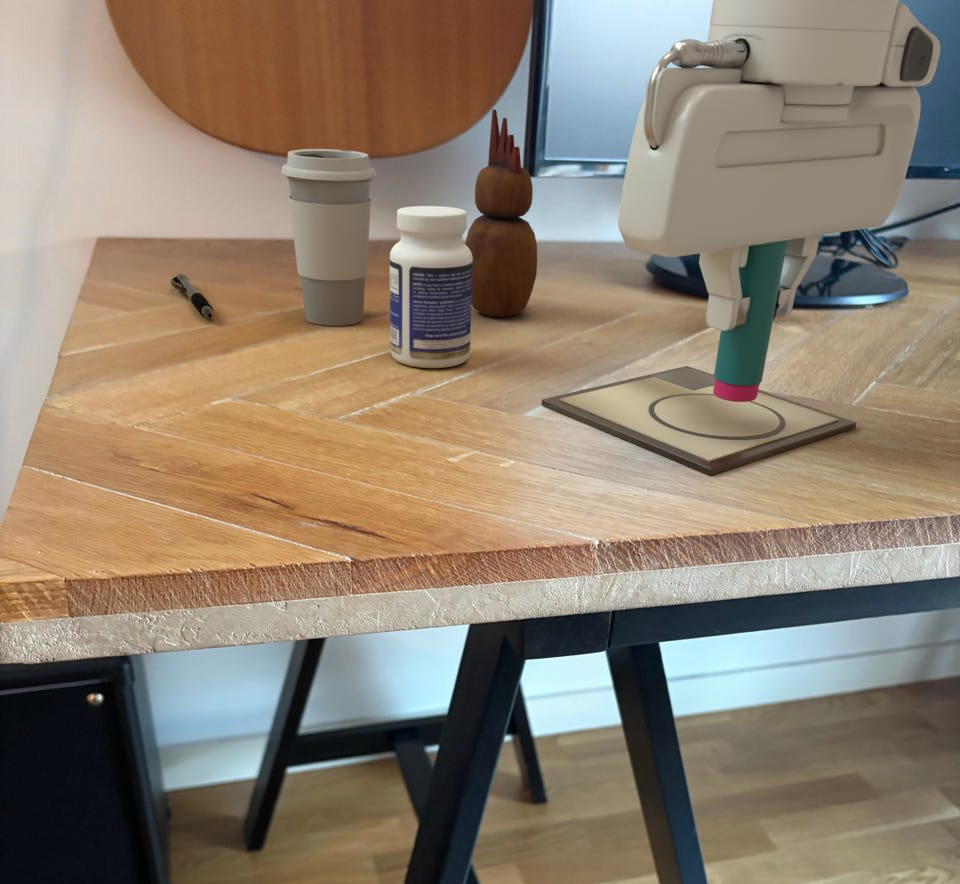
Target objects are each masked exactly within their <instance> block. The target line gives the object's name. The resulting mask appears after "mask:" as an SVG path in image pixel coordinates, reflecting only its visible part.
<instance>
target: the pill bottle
mask: <svg viewBox="0 0 960 884" xmlns="http://www.w3.org/2000/svg"><path fill="white" fill-rule="evenodd" d="M467 214H468V213H467V211H466V210H464V209H462V208H457V207H450V206H440V205H439V206H438V205H417V206H416V205H415V206H414V205H413V206H405V207H401V208H399V209H397V210H396V229H397V230H398V232H399V233H400V240H399V241H398V242H396V243H395V244H394V245H393V246H392V248H391V250H390V253H389V335H390V336H389V337H390V338H389V341H390V353H391V356H392V358H393V359H394V360H395V361H397V362H398V363H400V364H403V365H405V366H409V367H415V368H422V369H443V368H449V367H451V368H452V367H456V366H458V365H461V364H463V363H464V362H466V361H467V360H469V357H470V353H471V332H472V330H471V329H472V305H471V302H472V270H473V258H472V253H471V251H470V249H469V248H468V247H467V246H466V245H465V244H466V243H464V242H463V241H464V240H463V235H464V234H465V233H466V231H467V229H468V227H467V226H468V225H467V224H468V220H467V216H468V215H467Z"/></svg>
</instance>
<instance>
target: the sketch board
mask: <svg viewBox="0 0 960 884" xmlns="http://www.w3.org/2000/svg"><path fill="white" fill-rule="evenodd" d="M714 382H715V378H714V374H712V373H710V372H707V371H704V370H701V369H698V368H696V367H695V368H694V367H691V366H689V365H684V366H679V367H676V368H672V369H667V370H664V371H659V372H654V373H650V374H645V375H641V376H636V377H633V378H628V379H624V380H618V381H614V382H610V383H607V384H601V385H598V386H594V387H593V386H592V387H590V388H584V389H580V390H576V391H572V392H571V391H570V392H567V393H563V394H558V395H554V396H550V397H545V398H541V403H540V404H541V406H543V407H545V408H548V409H550V410H553V411H555V412H558V413H559V414H562V415H564V416H567V417H570V418H571V419H574V420H576V421H579V422H581V423H583V424H586V425H588V426H590V427H593V428H595V429H598V430H600V431H603V432H605V433H608V434H610V435H612V436H614V437H617V438H619V439H621V440H624V441H627V442H629V443H631V444H634V445H636V446H639V447H641V448H643V449H646V450H648V451H650V452H653V453H656V454H658V455H660V456H663V457H665V458H667V459H670V460H671V461H674V462H677V463H680V464H682V465H684V466H686V467H689V468H691V469H693V470H695V471H698V472H701V473H703V474H705V475H707V476H713V475H716V474H717V475H718V474H720V473H723V472H726V471H729V470H732V469H734V468H738V467H741V466H744V465H747V464H751V463H753V462H757V461H760V460H763V459H764V458H765V459H766V458H768V457H771V456H776V455H777V454H780V453H783V452H787V451H789V450H792V449H796V448H799V447H802V446H805V445H808V444H812V443H814V442H818V441H821V440H824V439H826V438H829V437H832V436H836V435H839V434H842V433H844V432H848V431H850V430H854V429H856V427H857V421H854V420H852V419H848V418H845V417H842V416H839V415H837V414H833V413H830V412H828V411H824V410H821V409H818V408H815V407H812V406H809V405H806V404H804V403H800V402H797V401H794V400H791V399H788V398H784V397H782V396H778V395H776V394H773V393H771V392H766V391H764V390H761V389H758V395H757V398H756V399H755V400H753V401H748V402H733V401H727V400H723V399H720V398H718V397H716V396H715V395H714V394H713V389H714Z"/></svg>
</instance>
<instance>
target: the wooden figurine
mask: <svg viewBox="0 0 960 884" xmlns="http://www.w3.org/2000/svg"><path fill="white" fill-rule="evenodd" d="M497 112H498V111H497V109H492V110H491V122H490V123H491V124H490V133H489V147H488V160H487V161H488V163H487V166H485V167H482V168H481V169H480V171H479V173H478V174H477V177H476V181H475V187H474V204H475V206H476V209H477V210H478V212H479V213H480V214H481V215H480V216H478V217H476V218H475V219H474V220H473V222H472V223H471V225H470V226H469V228H468V231H467V235H466V237H465V243H464V244H465V245H466V246H467V247H468V248H469V249H470V251H471V253H472V258H473V270H472V302H471V307H472V308H473V309H474V310H475V311H477V312H479V313H481V314H483V315H485V316H489V317H493V318H494V317H496V318H507V317H512V316H516V315H519V314H521V312H523V311H524V310H526V307H527V305H528V303H529V301H530V298H531V296H532V292H533V290H534V286H535V282H536V280H537V279H536V278H537V274H538V273H537V272H538V244H537V239H536V234H535V231H534V230H533V228H532V226H531V225H530V223H529V221H527V220H525V219H524V218H522V217H523V216H525V215H526V214H527V213H528V212H529V211H530V209H531V207H532V204H533V196H534V195H533V192H534V190H533V182H532V177H531V174H530V173H529V171H528V170H527V169H526V168H524V167H522V161H521V151H520V150H521V149H520V146H515V136H514V134H509V131H508V118H507V117H503V118H502V121H501V127H499V119H498V113H497Z"/></svg>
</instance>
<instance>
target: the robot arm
mask: <svg viewBox="0 0 960 884" xmlns="http://www.w3.org/2000/svg"><path fill="white" fill-rule="evenodd" d="M710 12H711V14H710V21H709V28H708V37H707V41H701V40H698V39H693V38H692V39H691V38H688V39H687V38H686V39H681V40H678V41H676V42H674V43H673V45H672V46H671V48H670V51H667V53H665V54H664V55H663V56H662V57H661V59H659V61H658V63H657V64H656V66H655V67H654V68H652V69H651V71H650V72H649V75H648V78H647V82H646V87H645V95H644V101H643V103H642V105H641V106H640V107H641V108H640V110H639V111H638V112H639V113H638V116H637V119H636V122H635V126H634V130H633V134H632V139H631V143H630V148H629V152H628V157H627V162H626V167H625V171H624V177H623V183H622V190H621V195H620V201H619V202H620V203H619V208H618V216H617V217H618V219H617V225H618V230H619V232H620V235H621V237H622V239H623V241H624V244H625V245H626V247H627V248H629V249H631V250H634V251H638V252H642V253H646V254H650V255H655V256H660V257H664V258H679V257H685V256H692V255H699V260H698V265H699V268H700V271H701V274H702V277H703V281H704V284H705V288H706V291H707V293H708V301H707V307H706V313H705V314H706V315H705V322H706V324H707V326H708V327H709V328H712V329H715V330H719V331H721V330H722V331H727V330H731V329H735V328H739V327H743V326H744V325H745V324H746V323H747V318H748V317H747V312H748V310H749V306H750V300H751V297H750V296H746V295H742V291H741V284H740V277H739V269H738V268H739V267H745V265H746V262H747V256H748V250H749V246H752V245H759V244H766V243H772V242H779V241H786V240H788V241H787V247H786V252H785V257H784V263H783V268H782V274H781V279H780V285H779V290H778V296H777V301H776V306H775V312H774V317H773V321H776V320H782V319H785V318H788V317H790V316H791V314H792V312H793V307H794V302H795V297H796V291H797V288H799V286H800V284H801V283H802V281H803V279H804V277H805V276H806V274H807V272H808V271H809V269H810V267H811V264H812V263H813V262H814V260H815V258H816V256H817V253H818V248H819V243H820V238H821V236H825V235H826V236H827V235H831V234H837V233H846V232H851V231H858V230H865V229H871V228H872V229H873V228H878V227H881V226H883V225H884V224H885V222H887V220H888V218H889V217H890V215H891V214H892V212H893V210H894V209H895V208H896V206H897V203H898V201H899V200H900V196H901V193H902V189H903V187H904V183H905V181H906V176H907V173H908V168H909V165H910V161H911V157H912V153H913V149H914V144H915V141H916V137H917V133H918V128H919V125H920V118H921V110H922V109H921V107H922V106H921V105H922V104H921V96H920V93H919V91H918V89H916V88H915V87H924V86H926V85H928V84H930V83H931V82H932V81H933V78H934V77H935V73H936V71H937V67H938V64H939V58H940V55H941V44H940V43H941V42H940V41H939V39H938V38H937V37H936V35H934V33H932V32H931V31H929V29H927V28H926V27H925V26H924V25H923V23H921V22H920V21H919V20H918V19H917V18H916V17H915V16H914V14H913V13H912V12H911V11H910V9H909V7H908V6H907V4H905V3H904V2H900V0H712V6H711V11H710ZM671 63H672V64H673V66H676V67H668V66H669V65H670V64H671Z"/></svg>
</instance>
